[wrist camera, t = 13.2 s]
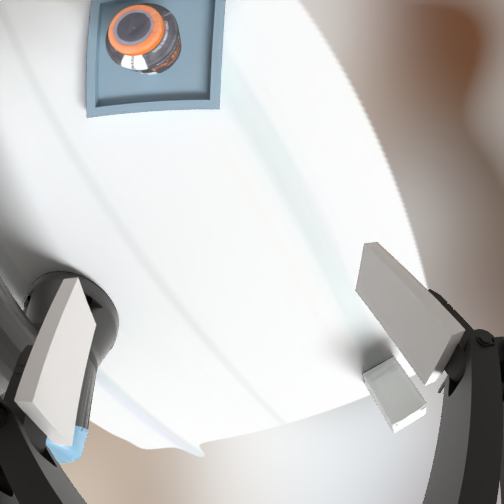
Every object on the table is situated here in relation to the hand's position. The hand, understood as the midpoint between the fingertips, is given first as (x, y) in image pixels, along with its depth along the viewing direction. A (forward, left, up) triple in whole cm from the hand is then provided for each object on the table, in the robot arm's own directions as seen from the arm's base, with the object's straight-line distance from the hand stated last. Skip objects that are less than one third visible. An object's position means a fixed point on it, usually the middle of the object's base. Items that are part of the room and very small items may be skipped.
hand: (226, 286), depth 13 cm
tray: (-6, +13, -23) cm, 27 cm away
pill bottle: (-6, +13, -23) cm, 27 cm away
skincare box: (+36, -43, -24) cm, 61 cm away
